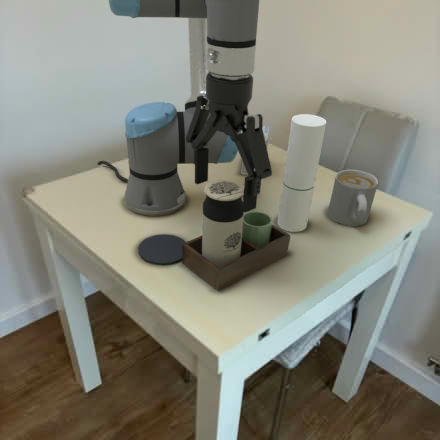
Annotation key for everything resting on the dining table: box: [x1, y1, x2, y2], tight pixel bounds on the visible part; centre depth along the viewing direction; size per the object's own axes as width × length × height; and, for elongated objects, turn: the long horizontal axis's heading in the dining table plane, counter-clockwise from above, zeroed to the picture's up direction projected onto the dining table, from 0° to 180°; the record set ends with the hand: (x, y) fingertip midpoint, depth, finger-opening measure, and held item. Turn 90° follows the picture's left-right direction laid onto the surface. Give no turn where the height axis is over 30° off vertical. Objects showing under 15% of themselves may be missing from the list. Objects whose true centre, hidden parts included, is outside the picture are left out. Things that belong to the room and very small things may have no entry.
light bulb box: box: [240, 125, 270, 176], centre depth 130 cm, size 11×7×11 cm, turn 172°
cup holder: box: [181, 224, 291, 292], centre depth 97 cm, size 12×20×5 cm, turn 131°
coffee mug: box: [327, 169, 379, 227], centre depth 110 cm, size 13×10×10 cm
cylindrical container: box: [277, 113, 327, 233], centre depth 102 cm, size 7×7×25 cm
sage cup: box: [242, 210, 273, 248], centre depth 99 cm, size 6×6×8 cm
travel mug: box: [201, 179, 245, 267], centre depth 90 cm, size 8×8×18 cm
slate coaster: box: [137, 233, 187, 266], centre depth 100 cm, size 11×11×1 cm
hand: (224, 195), depth 85 cm, fingers open, 13 cm apart
